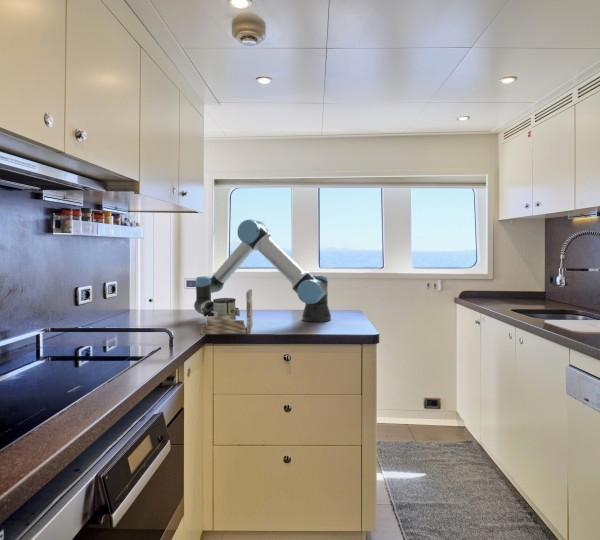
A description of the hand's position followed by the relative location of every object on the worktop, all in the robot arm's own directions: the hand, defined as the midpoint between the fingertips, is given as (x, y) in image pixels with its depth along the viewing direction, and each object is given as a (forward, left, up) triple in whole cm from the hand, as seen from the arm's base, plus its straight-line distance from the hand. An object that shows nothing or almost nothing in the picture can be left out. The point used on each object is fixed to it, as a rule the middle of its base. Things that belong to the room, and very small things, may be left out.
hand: (228, 314), depth 189 cm
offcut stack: (+2, +6, -6) cm, 8 cm away
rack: (+1, -1, -8) cm, 8 cm away
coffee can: (+2, -4, -8) cm, 9 cm away
